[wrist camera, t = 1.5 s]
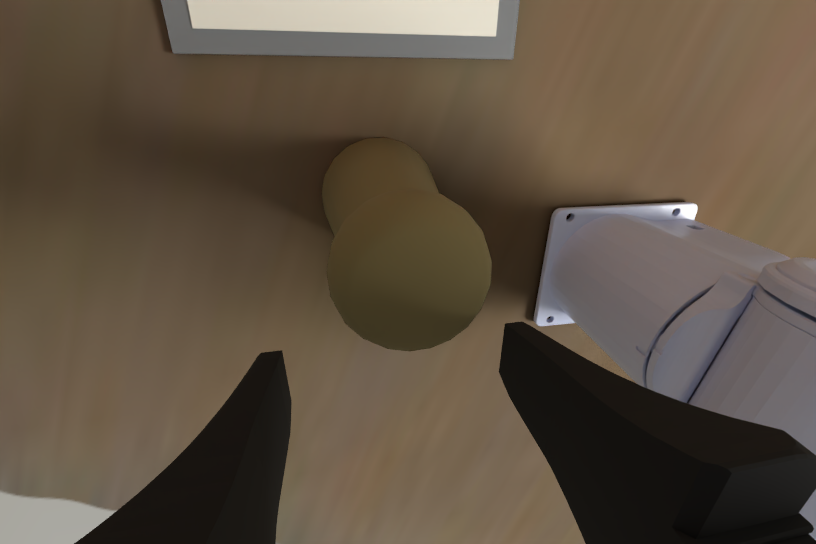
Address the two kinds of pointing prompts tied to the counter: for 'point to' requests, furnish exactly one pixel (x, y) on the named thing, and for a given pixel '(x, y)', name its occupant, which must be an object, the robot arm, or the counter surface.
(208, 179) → the counter surface
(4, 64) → the counter surface
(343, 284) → the cork
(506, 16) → the notepad
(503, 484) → the counter surface
